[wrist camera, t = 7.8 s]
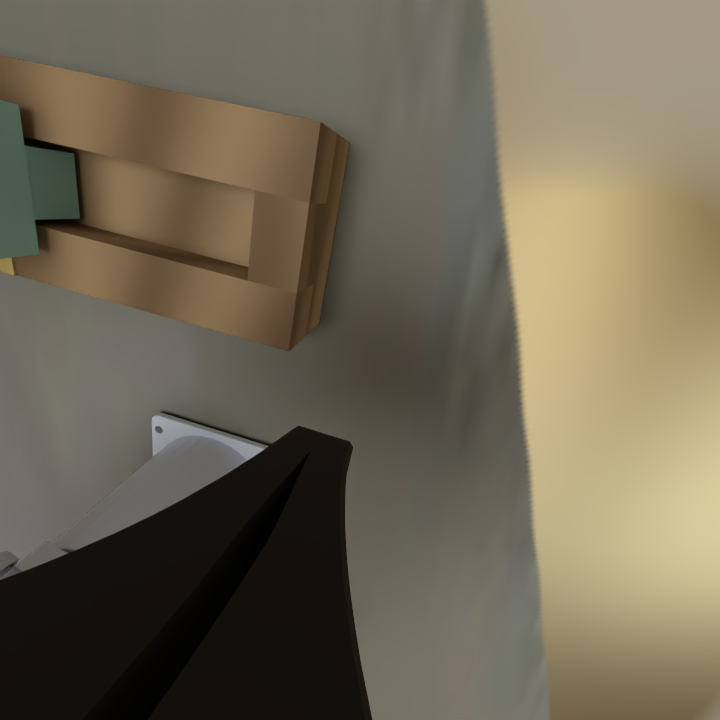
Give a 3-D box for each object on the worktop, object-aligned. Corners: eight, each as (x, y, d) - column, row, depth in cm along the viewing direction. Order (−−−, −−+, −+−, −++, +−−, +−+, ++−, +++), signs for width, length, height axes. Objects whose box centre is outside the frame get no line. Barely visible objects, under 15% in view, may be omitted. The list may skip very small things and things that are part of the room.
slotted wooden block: (350, 139, 15) (291, 95, 10) (318, 326, 19) (260, 379, 13) (-128, 38, 18) (-406, -45, 12) (-82, 217, 21) (-283, 220, 15)
